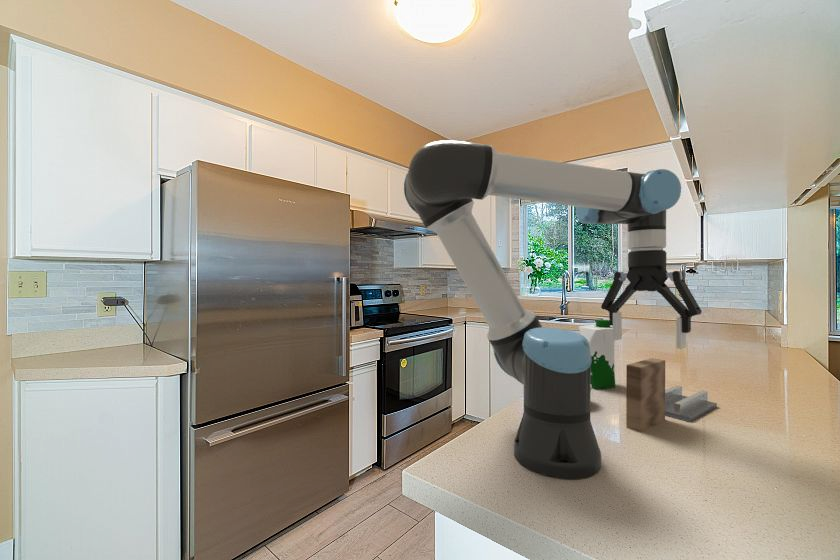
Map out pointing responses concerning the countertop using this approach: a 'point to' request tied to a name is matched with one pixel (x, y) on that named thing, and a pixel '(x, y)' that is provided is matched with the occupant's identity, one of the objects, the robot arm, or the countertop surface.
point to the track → (686, 404)
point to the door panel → (645, 394)
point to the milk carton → (601, 353)
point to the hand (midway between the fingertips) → (647, 343)
